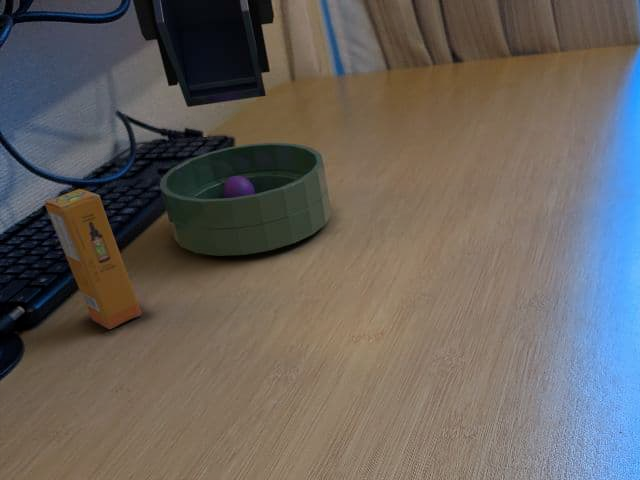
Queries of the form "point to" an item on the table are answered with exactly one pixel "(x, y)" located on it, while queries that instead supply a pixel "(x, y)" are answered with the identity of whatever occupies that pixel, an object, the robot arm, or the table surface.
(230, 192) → the ball
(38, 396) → the table surface
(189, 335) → the table surface
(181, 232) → the bowl
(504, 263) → the table surface
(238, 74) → the dark grey open holder
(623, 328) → the table surface
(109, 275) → the supplement box
